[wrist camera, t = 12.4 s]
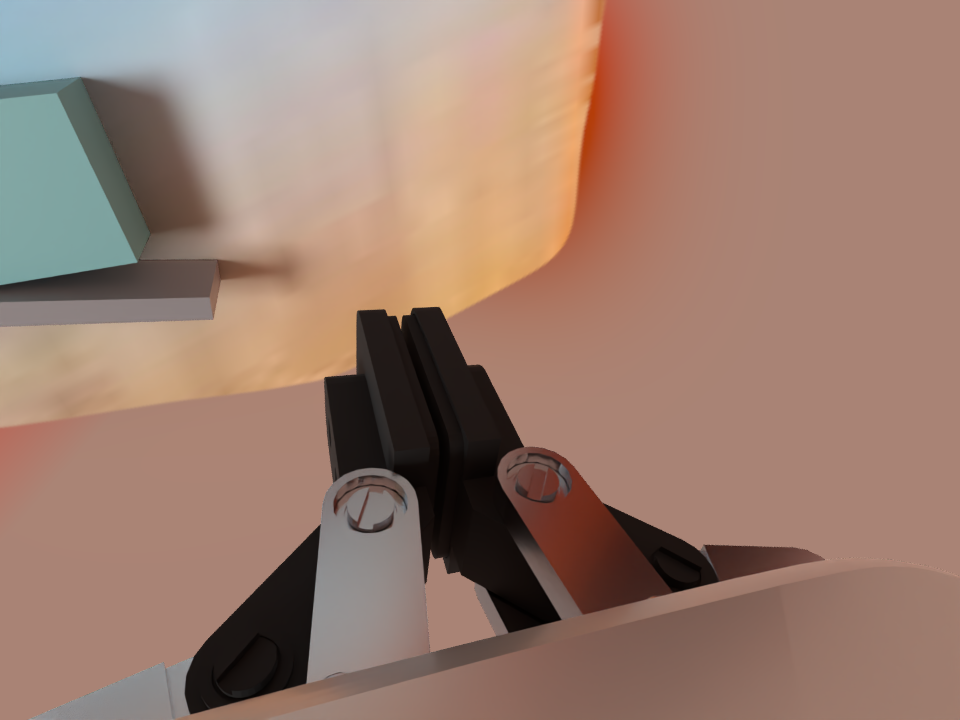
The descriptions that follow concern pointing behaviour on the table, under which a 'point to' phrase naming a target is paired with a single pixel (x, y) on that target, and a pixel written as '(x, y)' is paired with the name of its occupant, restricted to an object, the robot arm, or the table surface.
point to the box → (115, 295)
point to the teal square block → (61, 186)
